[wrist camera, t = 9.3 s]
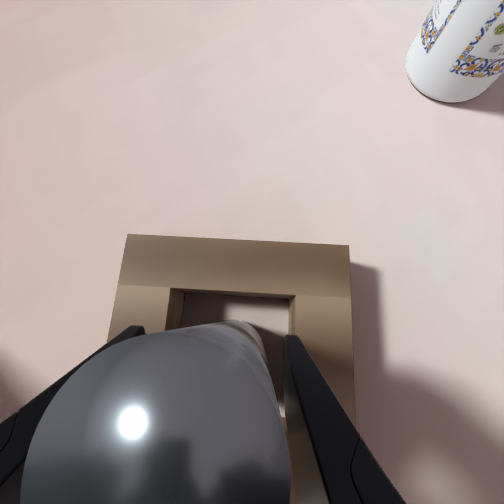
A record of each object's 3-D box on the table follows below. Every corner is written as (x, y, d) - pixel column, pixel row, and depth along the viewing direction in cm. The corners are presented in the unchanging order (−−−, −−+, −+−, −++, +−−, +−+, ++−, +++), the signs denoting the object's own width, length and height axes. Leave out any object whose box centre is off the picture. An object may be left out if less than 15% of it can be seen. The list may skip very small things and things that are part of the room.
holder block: (338, 481, 14) (359, 522, 12) (112, 463, 15) (77, 498, 12) (333, 257, 18) (349, 245, 15) (148, 247, 18) (127, 233, 15)
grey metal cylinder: (262, 388, 16) (287, 669, 3) (198, 383, 16) (-16, 638, 3) (265, 321, 17) (293, 340, 4) (205, 317, 17) (56, 325, 4)
